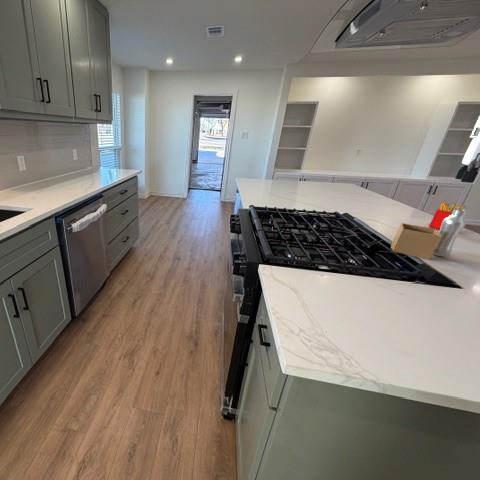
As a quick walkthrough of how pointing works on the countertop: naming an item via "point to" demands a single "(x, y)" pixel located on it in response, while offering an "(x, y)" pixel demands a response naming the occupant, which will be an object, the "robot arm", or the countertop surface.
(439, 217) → the french fries container
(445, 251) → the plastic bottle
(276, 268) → the countertop surface
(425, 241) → the bottle box
